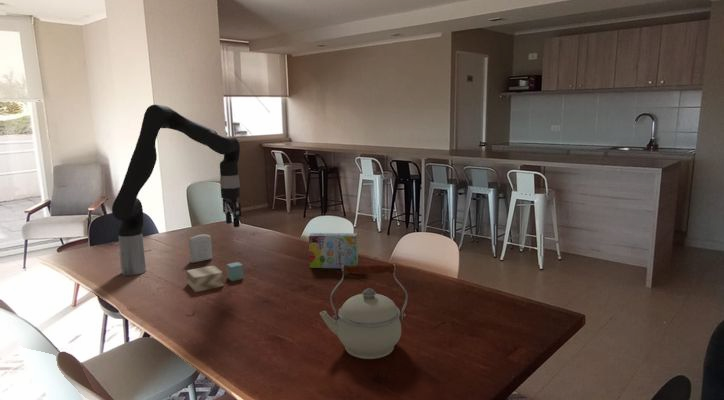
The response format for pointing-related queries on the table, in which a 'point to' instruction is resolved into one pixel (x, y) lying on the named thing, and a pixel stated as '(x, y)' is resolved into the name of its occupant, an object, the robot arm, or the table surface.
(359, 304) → the kettle
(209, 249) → the photo printer
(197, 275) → the birch block
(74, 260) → the table surface
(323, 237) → the snack box
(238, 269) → the teal block
